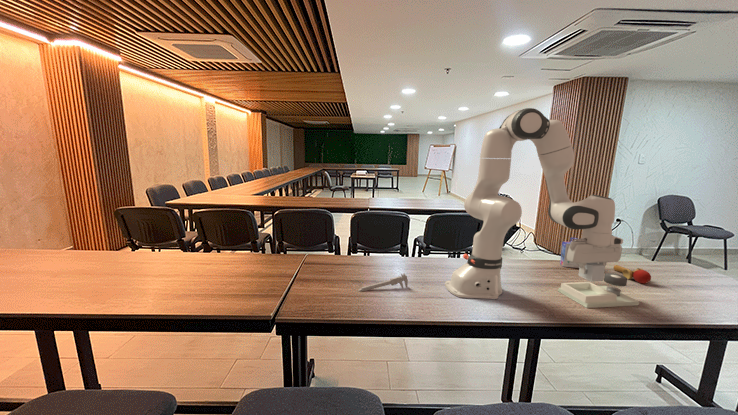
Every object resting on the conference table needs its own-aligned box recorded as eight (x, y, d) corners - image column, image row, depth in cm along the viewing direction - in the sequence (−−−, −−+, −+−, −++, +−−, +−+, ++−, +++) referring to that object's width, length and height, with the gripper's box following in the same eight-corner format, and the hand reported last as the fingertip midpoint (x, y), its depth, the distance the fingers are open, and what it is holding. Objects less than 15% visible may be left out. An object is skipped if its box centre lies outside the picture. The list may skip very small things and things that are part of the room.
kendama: (606, 273, 152) (636, 282, 134) (609, 260, 152) (640, 268, 134) (622, 276, 151) (654, 286, 133) (625, 264, 151) (658, 272, 133)
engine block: (591, 281, 115) (593, 266, 114) (578, 275, 121) (580, 260, 120) (602, 281, 116) (605, 265, 115) (589, 275, 122) (591, 260, 121)
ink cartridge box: (580, 265, 158) (584, 237, 156) (585, 268, 153) (589, 240, 150) (558, 263, 160) (562, 236, 158) (563, 267, 155) (567, 239, 152)
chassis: (586, 307, 112) (588, 297, 111) (558, 291, 126) (559, 282, 125) (638, 305, 115) (640, 295, 115) (605, 289, 129) (606, 280, 128)
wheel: (615, 286, 117) (616, 280, 116) (599, 279, 123) (600, 273, 123) (631, 286, 118) (632, 279, 117) (614, 278, 124) (615, 272, 124)
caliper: (406, 286, 127) (407, 272, 126) (407, 287, 126) (408, 273, 125) (358, 290, 122) (358, 275, 121) (358, 292, 121) (359, 276, 120)
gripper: (578, 241, 111) (573, 277, 114) (627, 239, 114) (621, 275, 116) (564, 236, 117) (560, 271, 120) (611, 235, 120) (606, 268, 123)
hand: (591, 273), depth 118 cm, fingers closed on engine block, 5 cm apart
